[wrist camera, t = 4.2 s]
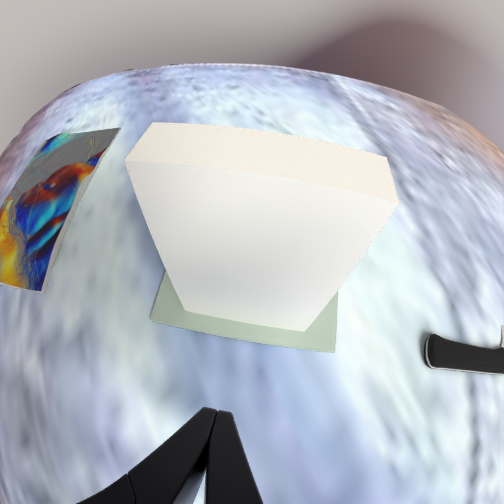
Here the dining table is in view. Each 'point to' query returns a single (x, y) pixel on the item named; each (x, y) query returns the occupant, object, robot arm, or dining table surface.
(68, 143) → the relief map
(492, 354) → the kitchen cleaver
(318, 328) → the sage rubber mat
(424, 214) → the dining table surface
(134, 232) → the dining table surface
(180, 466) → the robot arm
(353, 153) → the standing glazed tile
